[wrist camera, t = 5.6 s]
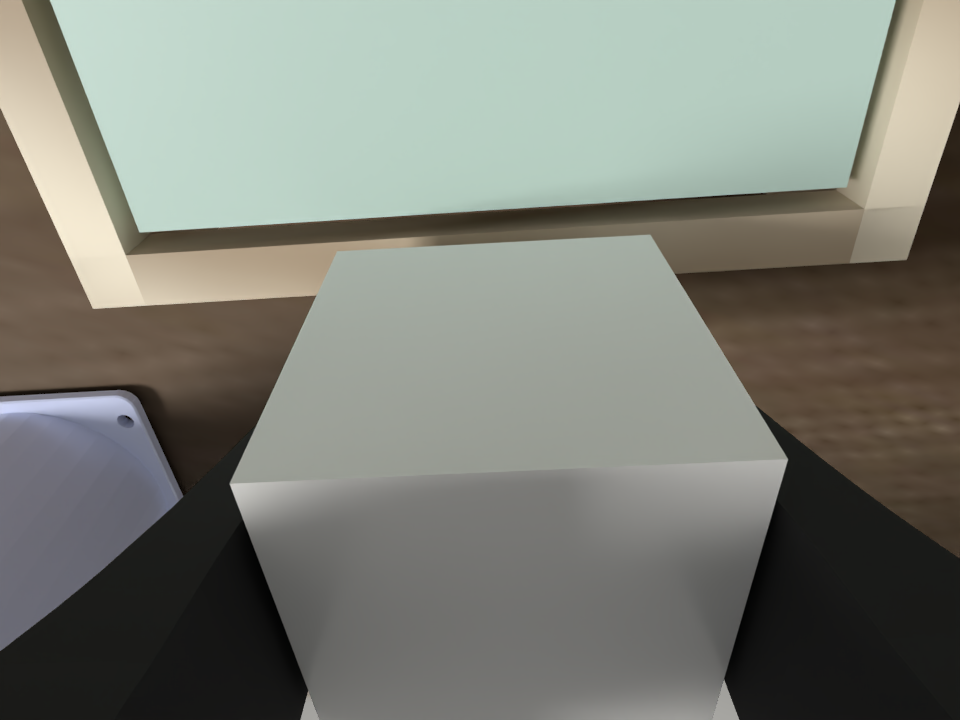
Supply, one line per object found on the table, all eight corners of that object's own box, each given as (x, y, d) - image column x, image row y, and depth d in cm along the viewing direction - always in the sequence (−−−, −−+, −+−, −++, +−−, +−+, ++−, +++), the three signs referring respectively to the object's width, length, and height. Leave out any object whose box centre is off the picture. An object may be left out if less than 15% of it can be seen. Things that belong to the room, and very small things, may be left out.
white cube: (626, 467, 12) (706, 740, 8) (381, 477, 12) (332, 752, 8) (650, 235, 9) (788, 460, 5) (337, 251, 10) (229, 483, 5)
